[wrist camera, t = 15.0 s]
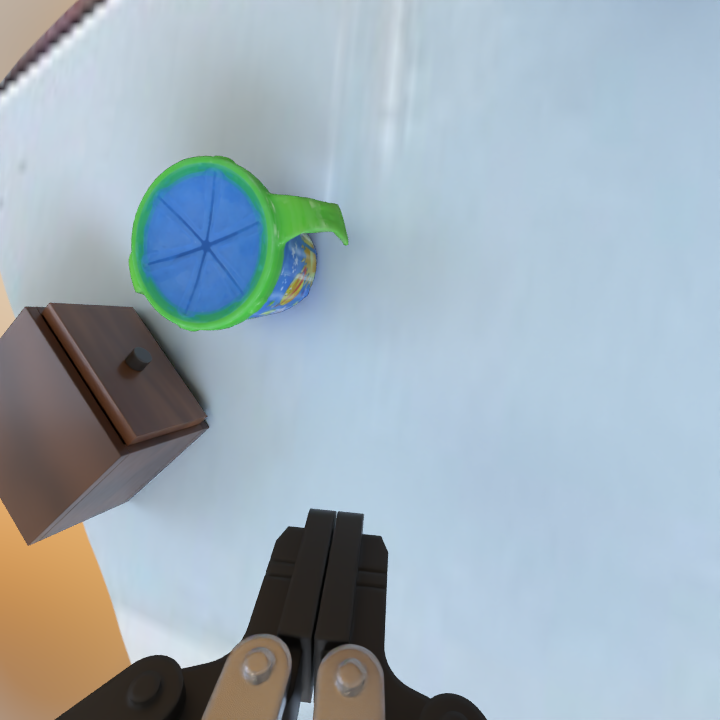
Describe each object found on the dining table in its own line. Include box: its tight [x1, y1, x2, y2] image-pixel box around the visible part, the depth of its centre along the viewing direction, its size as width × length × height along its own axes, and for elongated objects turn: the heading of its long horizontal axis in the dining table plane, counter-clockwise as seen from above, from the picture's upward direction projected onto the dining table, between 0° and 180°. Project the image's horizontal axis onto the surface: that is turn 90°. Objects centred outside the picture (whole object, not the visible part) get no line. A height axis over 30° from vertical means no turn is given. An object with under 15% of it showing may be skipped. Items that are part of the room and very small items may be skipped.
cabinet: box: [0, 307, 209, 545], centre depth 39 cm, size 13×14×10 cm
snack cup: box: [129, 156, 348, 331], centre depth 32 cm, size 16×10×10 cm
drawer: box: [42, 303, 207, 446], centre depth 38 cm, size 13×12×8 cm
